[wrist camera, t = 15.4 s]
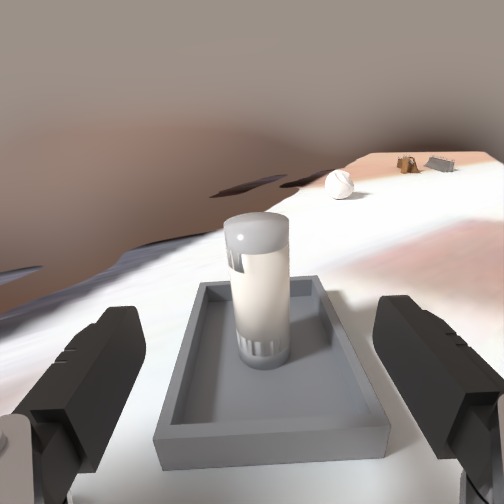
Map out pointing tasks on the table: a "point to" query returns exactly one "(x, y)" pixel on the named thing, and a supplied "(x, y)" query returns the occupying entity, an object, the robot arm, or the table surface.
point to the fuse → (260, 287)
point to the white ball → (339, 184)
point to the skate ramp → (432, 163)
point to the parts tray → (268, 391)
